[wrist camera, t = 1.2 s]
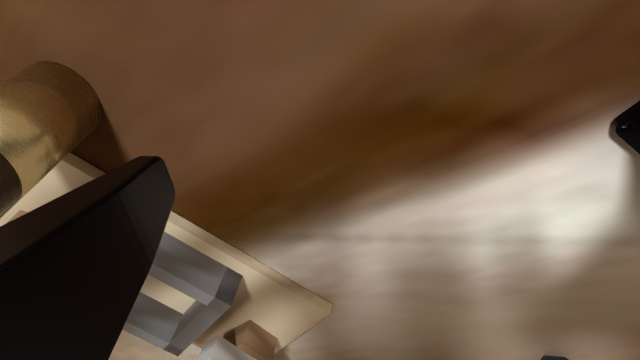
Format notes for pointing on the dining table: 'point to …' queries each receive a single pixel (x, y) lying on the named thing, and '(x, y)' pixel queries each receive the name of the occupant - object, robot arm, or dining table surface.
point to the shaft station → (199, 287)
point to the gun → (554, 358)
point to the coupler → (41, 125)
